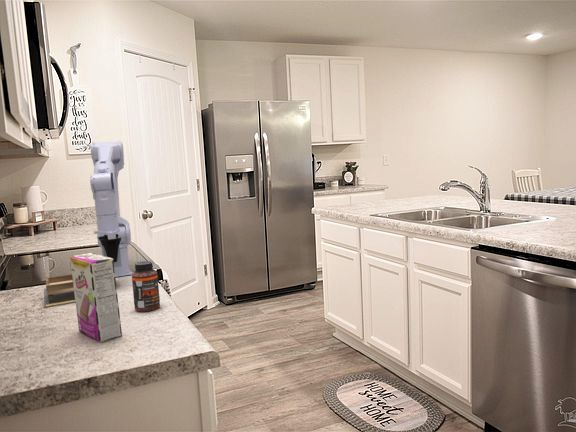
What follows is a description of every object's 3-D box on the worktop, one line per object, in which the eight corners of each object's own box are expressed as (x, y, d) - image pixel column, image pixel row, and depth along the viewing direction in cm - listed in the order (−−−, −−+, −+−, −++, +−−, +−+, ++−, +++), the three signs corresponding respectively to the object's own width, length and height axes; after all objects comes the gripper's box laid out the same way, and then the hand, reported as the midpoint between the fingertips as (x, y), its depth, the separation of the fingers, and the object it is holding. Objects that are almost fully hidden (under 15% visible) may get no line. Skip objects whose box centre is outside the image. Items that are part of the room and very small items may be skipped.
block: (103, 266, 141) (101, 246, 141) (119, 263, 143) (117, 244, 143) (105, 268, 137) (102, 248, 137) (121, 266, 139) (119, 246, 139)
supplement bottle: (145, 313, 112) (140, 266, 111) (129, 310, 115) (124, 264, 114) (165, 306, 117) (161, 260, 115) (150, 303, 120) (145, 259, 119)
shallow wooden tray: (48, 294, 134) (46, 278, 133) (90, 287, 138) (88, 271, 138) (48, 304, 124) (45, 286, 123) (93, 296, 129) (91, 279, 128)
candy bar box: (77, 331, 102) (68, 256, 100) (100, 325, 106) (91, 251, 104) (99, 344, 94) (89, 262, 92) (123, 336, 98) (114, 257, 96)
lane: (44, 289, 142) (44, 288, 142) (91, 282, 147) (91, 280, 147) (44, 308, 122) (43, 306, 122) (98, 298, 128) (98, 297, 128)
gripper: (89, 214, 143) (94, 258, 145) (94, 218, 130) (99, 267, 132) (114, 211, 146) (119, 255, 148) (121, 215, 133) (126, 263, 135)
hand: (111, 260), depth 140 cm, fingers closed on block, 4 cm apart
